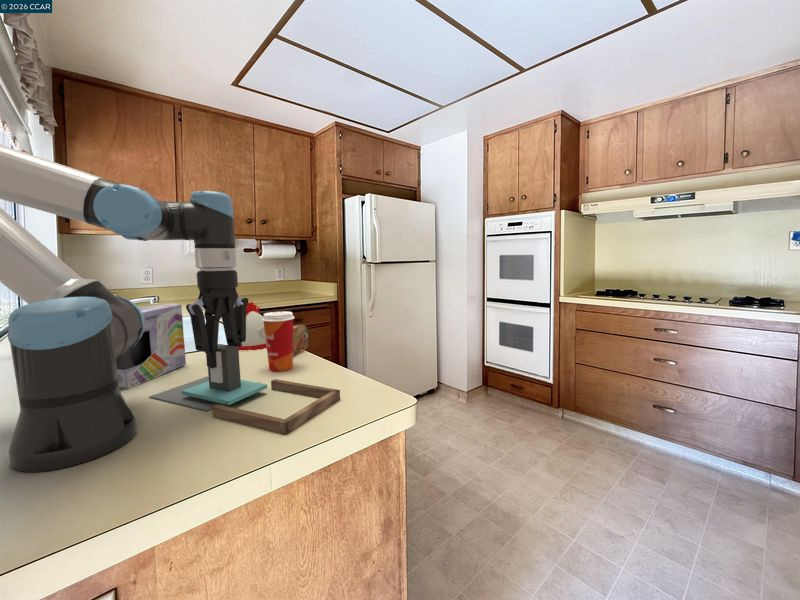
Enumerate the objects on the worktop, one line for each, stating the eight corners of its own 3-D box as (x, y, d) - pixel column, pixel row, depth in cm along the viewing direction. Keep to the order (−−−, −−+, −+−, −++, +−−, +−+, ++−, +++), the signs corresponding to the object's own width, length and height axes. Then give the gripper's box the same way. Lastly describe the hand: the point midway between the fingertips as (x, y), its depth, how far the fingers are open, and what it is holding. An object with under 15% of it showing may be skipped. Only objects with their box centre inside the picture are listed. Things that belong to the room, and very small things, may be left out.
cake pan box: (125, 391, 82) (116, 314, 80) (106, 390, 83) (97, 314, 80) (188, 366, 101) (183, 303, 98) (172, 365, 101) (167, 303, 99)
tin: (288, 360, 105) (286, 331, 104) (278, 359, 106) (276, 331, 105) (310, 347, 120) (309, 322, 119) (301, 346, 120) (300, 322, 119)
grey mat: (207, 411, 70) (207, 410, 70) (149, 397, 78) (149, 396, 78) (261, 387, 83) (261, 386, 83) (207, 377, 90) (207, 376, 90)
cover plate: (228, 405, 70) (225, 356, 69) (181, 394, 76) (177, 349, 75) (267, 388, 79) (264, 344, 78) (222, 379, 85) (219, 339, 84)
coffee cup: (264, 365, 100) (261, 312, 98) (295, 362, 103) (293, 310, 101) (265, 374, 92) (261, 316, 90) (298, 370, 95) (295, 314, 93)
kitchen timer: (220, 349, 119) (217, 304, 117) (250, 340, 131) (248, 299, 130) (255, 352, 114) (252, 305, 112) (282, 342, 127) (280, 300, 125)
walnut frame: (285, 434, 61) (285, 423, 61) (212, 416, 68) (211, 406, 68) (340, 399, 76) (339, 390, 75) (275, 387, 83) (274, 379, 83)
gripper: (192, 271, 66) (202, 394, 69) (260, 268, 80) (266, 370, 83) (166, 271, 69) (176, 389, 72) (236, 268, 83) (242, 366, 86)
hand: (224, 378), depth 77 cm, fingers closed on cover plate, 3 cm apart
